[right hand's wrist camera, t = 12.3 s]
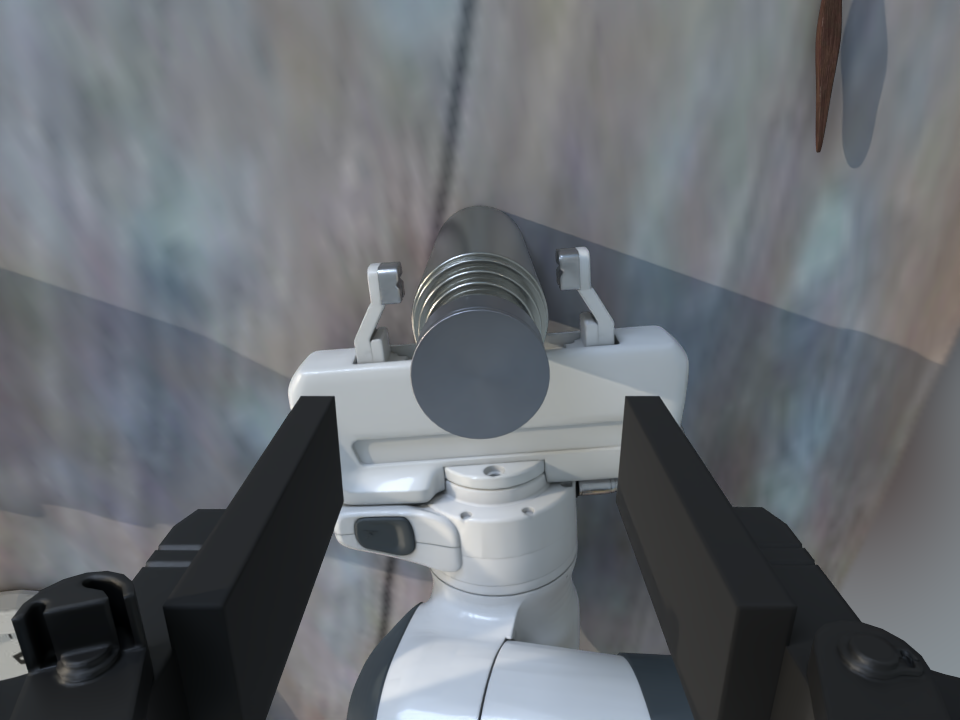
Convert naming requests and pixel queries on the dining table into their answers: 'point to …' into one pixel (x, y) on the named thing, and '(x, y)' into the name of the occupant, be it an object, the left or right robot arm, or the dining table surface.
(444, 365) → the cap
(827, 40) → the fork
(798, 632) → the right robot arm
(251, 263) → the dining table surface
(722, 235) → the dining table surface
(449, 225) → the bottle
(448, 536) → the left robot arm
